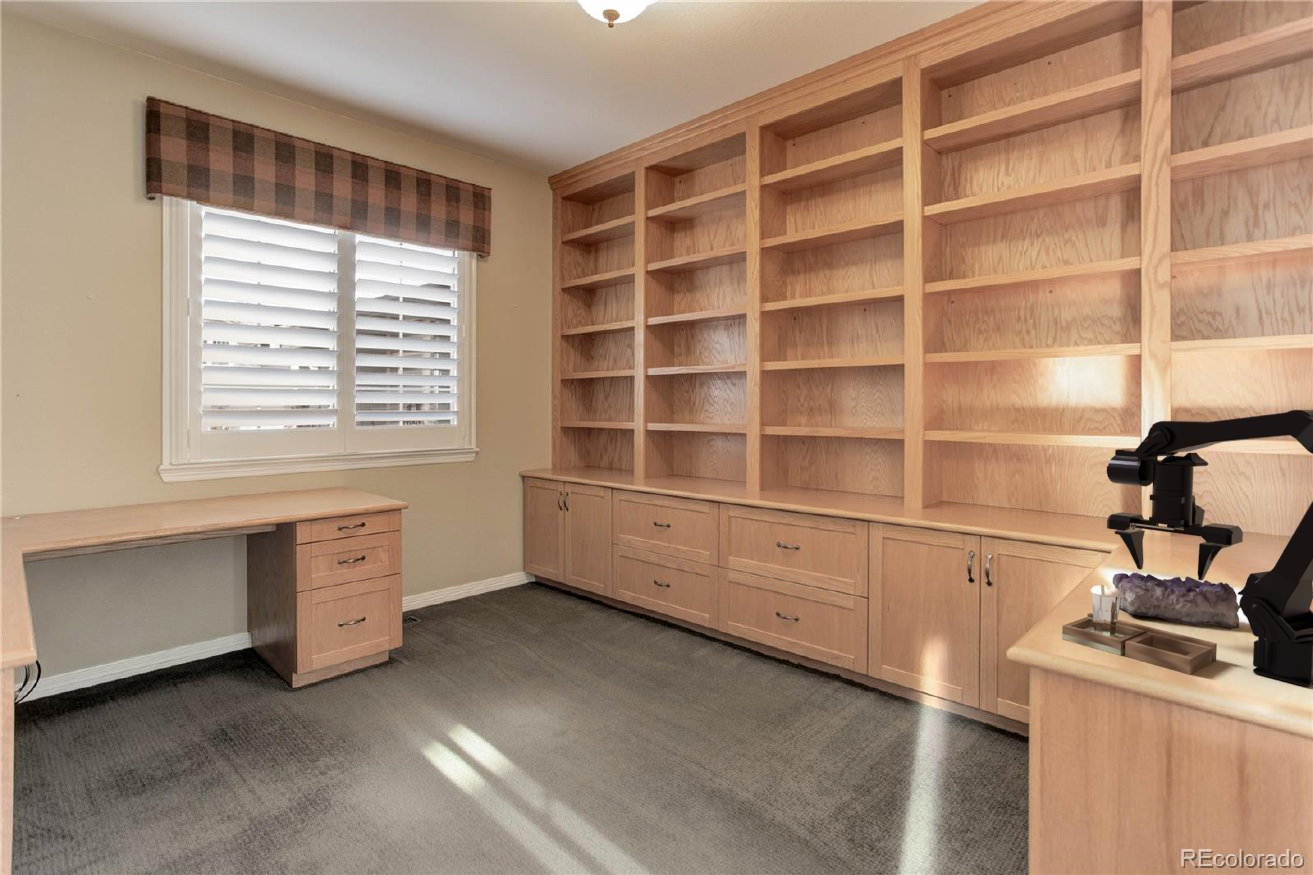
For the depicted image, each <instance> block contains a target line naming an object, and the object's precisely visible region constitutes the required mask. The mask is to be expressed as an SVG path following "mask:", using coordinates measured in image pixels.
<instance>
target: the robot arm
mask: <svg viewBox="0 0 1313 875" xmlns="http://www.w3.org/2000/svg"><path fill="white" fill-rule="evenodd" d="M1281 437H1292V438H1293V439H1295V440H1296V441H1297V442H1298V443H1299V444H1300V445H1301V446H1302V447H1303V448H1304V449H1305V450H1306V451H1307V452H1309V453H1310V454H1312V455H1313V409H1292V410H1289V411H1284V412H1280V413H1279V412H1278V413H1271V414H1261V415H1255V416H1253V415H1252V416H1246V417H1238V418H1231V419H1221V420H1213V421H1207V420H1205V421H1202V420H1159V421H1156V422H1154V423H1153V424H1152V425H1151V427H1150V428H1149V430H1148V433H1147V436H1146V437H1145V438H1144V439H1143V440H1142V441H1141V442H1140V444H1139V445H1138V446H1137V447H1136V449H1135V450H1131V449H1129V448H1128V449H1125V448H1123V449H1122V448H1121V449H1120V448H1119V449H1115V450H1114V456H1113V457H1110V460H1109V462H1108V465H1107V466H1106V474H1107V477H1108V480H1109V481H1110V482H1112V483H1113V484H1119V485H1127V486H1128V485H1129V486H1137V487H1149V486H1151V485H1152V493H1151V494H1149V501H1151V516H1149V517H1148V519H1145V518H1144V516H1143V514H1140V513H1134V512H1133V513H1129V512H1125V511H1123V512H1116V513H1111V514H1110V515H1108V517H1107V519H1106V529H1109V530H1114V534H1115V535H1118V536H1120V538H1121V540H1122V541H1123V543H1124V545H1125V546H1126V548H1127V550H1128V551H1129V553H1130V556H1131V557H1132V560H1133V562H1134V563H1135V566H1136V569H1138V570H1140V571H1141V570H1143V568H1144V546H1143V545H1144V544H1143V540H1144V536H1145V533H1146V530H1150V531H1157V532H1164V533H1171V534H1179V535H1188V536H1194V537H1195V536H1196V537H1200V538H1202V539H1203V540H1204V542H1200V543H1199V545H1198V560H1197V561H1198V562H1197V577H1198V578H1197V580H1198V581H1204V579H1205V577H1206V575H1207V574H1208V571H1209V570H1210V567H1211V565H1212V564H1213V562H1214V559H1215V558H1216V557H1217V555H1219V552H1220V551H1221V550H1223V549H1226V548H1229V547H1232V546H1233V545H1237V544H1241V543H1243V540H1244V538H1243V537H1244V532H1243V530H1242V528H1241V527H1240V526H1239V525H1234V524H1233V525H1232V524H1227V523H1226V524H1223V523H1216V522H1212V523H1207V524H1204V518H1205V512H1206V511H1205V509H1204V508H1202V507H1201V506H1199V505H1197V503H1196V496H1195V495H1194V494H1193V493H1194V490H1193V489H1194V467H1207V466H1208V465H1209V462H1208V461H1207V460H1205V459H1204V458H1202V457H1201V456H1200V455H1199V453H1198V452H1192V451H1196V450H1201V449H1204V448H1208V447H1210V446H1211V447H1212V446H1214V445H1217V444H1221V443H1225V442H1226V443H1227V442H1237V441H1249V440H1260V439H1271V438H1281ZM1179 453H1186V454H1185V455H1177V454H1179ZM1159 457H1163V458H1162V459H1158V458H1159ZM1203 524H1204V525H1203ZM1164 525H1166V526H1164ZM1237 596H1241V597H1240V599H1239V603H1238V605H1239V607H1240V610H1241V611H1242V614H1243V615H1244V616H1245V617H1246V619H1247V621H1248V624H1249V626H1250V629H1251V632H1252V635H1253V636H1254V637H1257V638H1258V639H1256V640H1255V641H1253V649H1252V650H1253V652H1252V665H1253V666H1254V668H1253V670H1252V673H1254V674H1257V675H1259V676H1265V677H1269V678H1270V679H1271V678H1272V679H1275V680H1279V681H1283V682H1287V683H1291V684H1294V685H1299V686H1303V687H1306V688H1307V687H1311V686H1312V685H1313V610H1311V609H1310V608H1311V605H1312V602H1313V500H1312V501H1311V503H1310V504H1309V506H1308V508H1307V510H1306V511H1305V513H1304V515H1303V516H1302V518H1301V520H1300V522H1299V524H1298V525H1297V527H1296V529H1295V530H1294V532H1293V533H1292V535H1291V538H1290V539H1289V540H1288V542H1287V545H1286V546H1285V547H1284V549H1283V551H1282V553H1281V555H1280V556H1279V558H1278V560H1277V562H1275V565H1274V566H1273V568H1272V569H1271V570H1268V571H1267V570H1266V571H1260V572H1253V573H1249V574H1248V577H1247V578H1246V581H1245V585H1244V587H1243V588H1242V590H1240V591H1238V592H1237Z"/></svg>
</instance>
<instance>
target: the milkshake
mask: <svg viewBox="0 0 1313 875" xmlns="http://www.w3.org/2000/svg"><path fill="white" fill-rule="evenodd" d="M1090 596H1091V604H1092V605H1091V606H1092V613H1093V625H1094V632H1095V633H1099V634H1102V635H1106V636H1110V637H1114V638H1116V633H1117V624H1118V620H1119V615H1120V609H1121V608H1120V602H1121V596H1122V593H1121V592H1120V591H1119V590H1118V589H1116V588H1115V586H1111V585H1110V586H1109V585H1103V584H1099V585H1095V586H1093V587H1092V588H1091V589H1090Z"/></svg>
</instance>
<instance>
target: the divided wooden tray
mask: <svg viewBox="0 0 1313 875" xmlns="http://www.w3.org/2000/svg"><path fill="white" fill-rule="evenodd" d="M1061 629H1062V630H1061V631H1062V635H1061V638H1062V640H1064V641H1068V642H1071V643H1076V644H1079V645H1081V646H1084V647H1085V646H1086V647H1090V648H1093V649H1096V650H1100V651H1102V652H1103V651H1104V652H1106V653H1111V654H1115V655H1118V656H1122V655H1124V657H1125V658H1130V659H1133V660H1137V661H1140V662H1145V663H1148V664H1152V665H1154V666H1158V667H1162V668H1165V669H1169V670H1172V671H1176V672H1179V673H1183V674H1187V675H1192V674H1193V673H1196V672H1198V671H1199V670H1200V669H1203V668H1204V667H1207V666H1209V665H1210V664H1212V663H1215V662H1217V648H1218V646H1217V645H1218V644H1217V643H1216V642H1214V641H1209V640H1204V639H1200V638H1196V637H1192V636H1187V635H1184V634H1179V633H1176V632H1171V631H1167V630H1164V629H1159V628H1154V627H1150V626H1146V625H1142V624H1137V623H1134V622H1130V621H1127V620H1122V619H1118V624H1117V633H1116V638H1114V637H1110V636H1106V635H1102V634H1099V633H1095V632H1094V625H1093V612H1089V613H1087V614H1086V617H1083V618H1080V619H1078V620H1075V621H1072V622H1068V623H1066V624H1063V625H1062V628H1061Z"/></svg>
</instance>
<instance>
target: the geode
mask: <svg viewBox="0 0 1313 875" xmlns="http://www.w3.org/2000/svg"><path fill="white" fill-rule="evenodd" d="M1112 584H1113V585H1114V588H1116V589H1118V590H1119V591H1120V592H1121V593H1122V596H1121V602H1120V608H1119V609H1121V610H1123V611H1125V612H1126V613H1127V614H1129V615H1132V616H1133V615H1136V616H1141V617H1151V618H1160V619H1164V620H1167V621H1170V622H1178V623H1181V624H1185V625H1187V626H1199V625H1201V626H1202V625H1218V626H1220V627H1223V628H1224V627H1225V628H1228V629H1229V630H1233V629H1237V628H1238V629H1239V628H1240V617H1239V614H1238V612H1239V611H1240V610H1241V608H1240V607H1239V603H1238V601H1237V600H1238V594H1237V593H1236V591H1235V590H1234V588H1233V586H1232V587H1231V586H1230V584H1228V583H1227V582H1226V583H1223V582H1218V583H1214V582H1213V583H1212V582H1211V581H1209V580H1203V582H1202V581H1201V580H1198V579H1195V578H1192V577H1190V576H1185V578H1184V580H1182V578H1181V577H1180V576H1174V577H1172V578H1169V579H1166V578H1163V579H1161V578H1159V577H1155V576H1154V575H1152V574H1150V573H1148V574H1146V575H1144V574H1142V573H1139V572H1132V573H1130V574H1128V573H1124V572H1121V573H1115V574H1114V575H1113V577H1112Z"/></svg>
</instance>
